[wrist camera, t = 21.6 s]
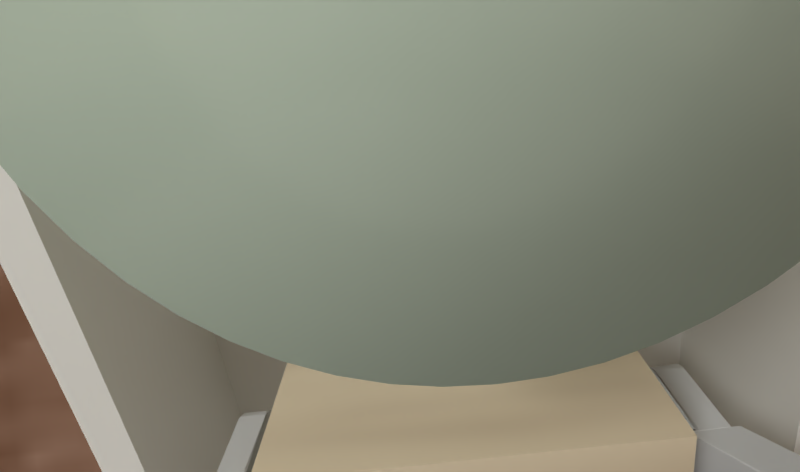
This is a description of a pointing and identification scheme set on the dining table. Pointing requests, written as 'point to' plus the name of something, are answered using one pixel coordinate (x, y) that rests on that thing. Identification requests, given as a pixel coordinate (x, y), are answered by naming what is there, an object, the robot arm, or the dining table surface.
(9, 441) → the dining table surface
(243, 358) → the tote
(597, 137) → the sage cylinder
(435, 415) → the beech cube
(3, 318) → the dining table surface
